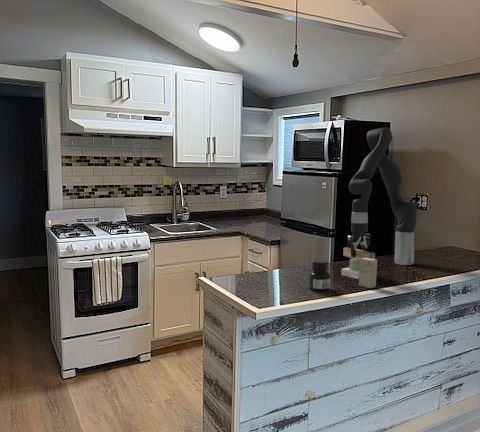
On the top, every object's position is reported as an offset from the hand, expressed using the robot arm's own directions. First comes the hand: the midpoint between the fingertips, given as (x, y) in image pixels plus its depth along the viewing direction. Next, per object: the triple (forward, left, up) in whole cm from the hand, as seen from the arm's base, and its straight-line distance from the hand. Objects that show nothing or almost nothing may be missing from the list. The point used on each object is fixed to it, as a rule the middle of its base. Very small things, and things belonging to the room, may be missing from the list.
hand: (358, 256), depth 218 cm
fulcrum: (0, 0, -9) cm, 9 cm away
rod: (0, 0, -1) cm, 1 cm away
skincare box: (+12, +16, -9) cm, 22 cm away
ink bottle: (+32, +7, -9) cm, 34 cm away
